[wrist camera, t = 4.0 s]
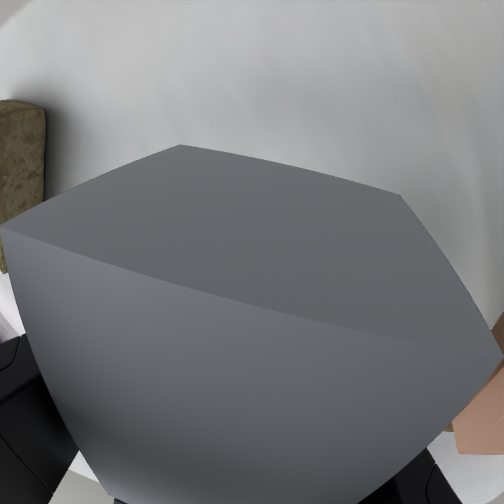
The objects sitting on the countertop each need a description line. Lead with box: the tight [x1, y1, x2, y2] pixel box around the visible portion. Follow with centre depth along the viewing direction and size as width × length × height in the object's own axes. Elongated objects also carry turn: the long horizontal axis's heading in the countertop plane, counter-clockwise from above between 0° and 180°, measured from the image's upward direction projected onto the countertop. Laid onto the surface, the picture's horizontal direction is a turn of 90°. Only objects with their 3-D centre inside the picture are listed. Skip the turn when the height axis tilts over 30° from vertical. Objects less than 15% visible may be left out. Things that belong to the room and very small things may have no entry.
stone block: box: [0, 99, 46, 274], centre depth 16 cm, size 6×12×5 cm, turn 166°
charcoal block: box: [0, 145, 504, 504], centre depth 6 cm, size 8×5×5 cm, turn 170°
